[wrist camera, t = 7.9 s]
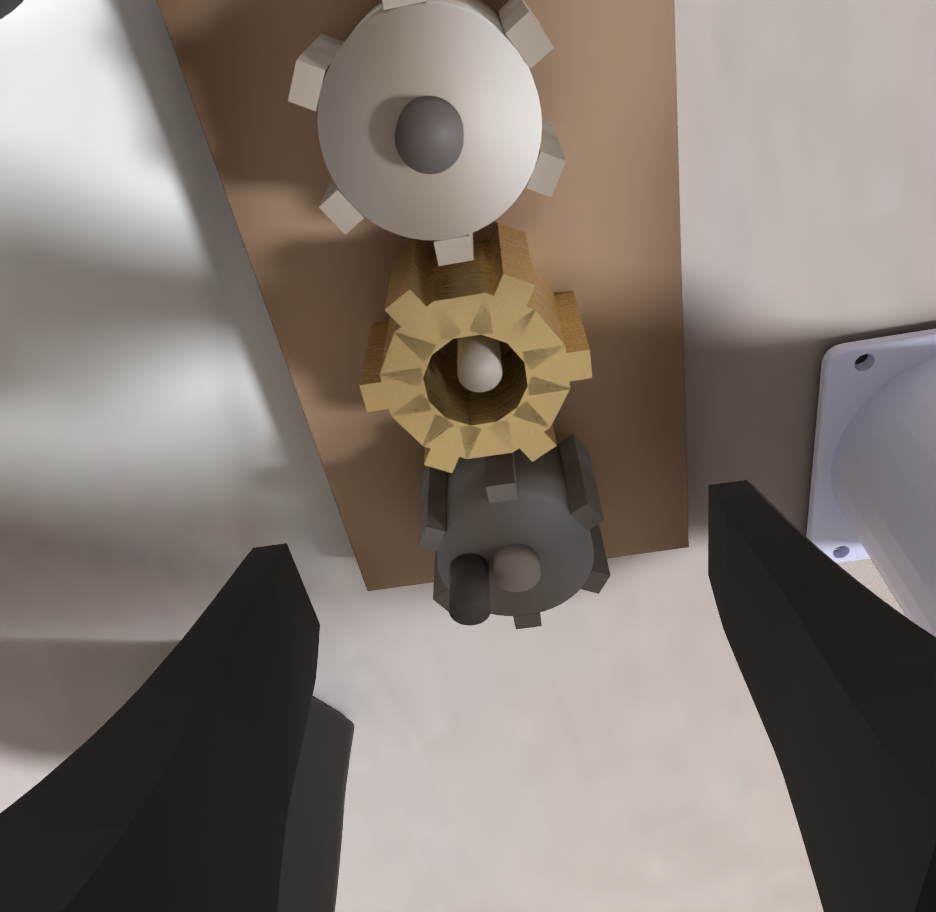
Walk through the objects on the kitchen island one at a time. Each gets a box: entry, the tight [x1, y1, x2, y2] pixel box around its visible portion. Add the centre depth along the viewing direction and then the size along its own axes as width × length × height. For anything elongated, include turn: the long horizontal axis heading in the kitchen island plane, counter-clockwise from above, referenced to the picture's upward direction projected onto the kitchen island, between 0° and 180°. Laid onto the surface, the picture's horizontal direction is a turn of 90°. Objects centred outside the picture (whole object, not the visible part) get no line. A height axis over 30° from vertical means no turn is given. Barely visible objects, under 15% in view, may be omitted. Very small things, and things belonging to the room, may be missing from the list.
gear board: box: [157, 0, 689, 629], centre depth 18 cm, size 10×17×6 cm, turn 10°
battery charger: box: [277, 697, 354, 912], centre depth 26 cm, size 7×4×11 cm, turn 45°
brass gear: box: [359, 222, 592, 473], centre depth 18 cm, size 5×5×3 cm
